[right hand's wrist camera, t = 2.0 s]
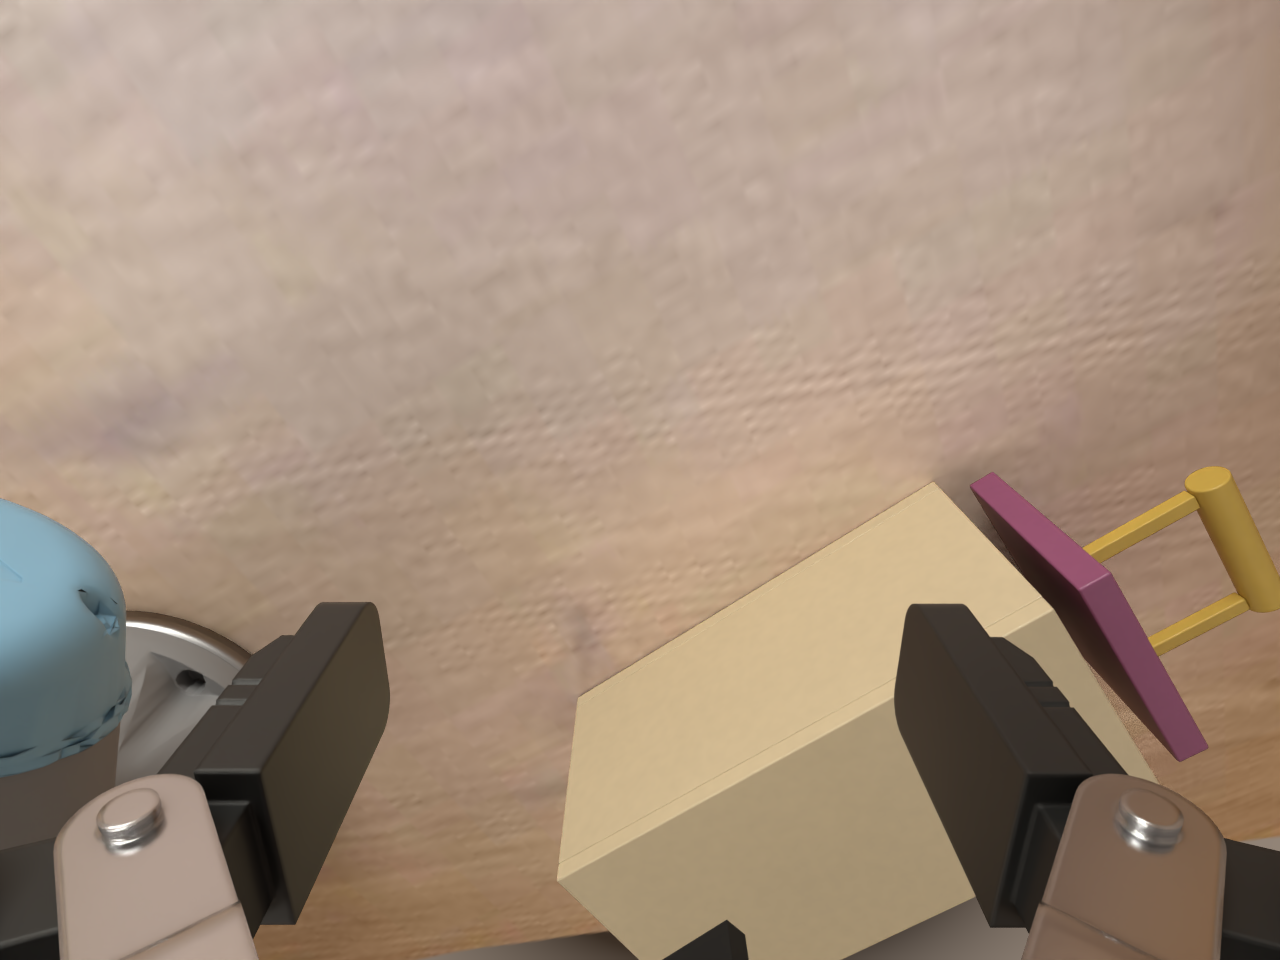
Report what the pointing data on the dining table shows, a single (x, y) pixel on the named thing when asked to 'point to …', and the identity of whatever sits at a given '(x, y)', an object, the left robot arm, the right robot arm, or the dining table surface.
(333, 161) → the dining table surface
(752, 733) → the cabinet
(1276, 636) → the dining table surface
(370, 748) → the right robot arm
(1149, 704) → the drawer
